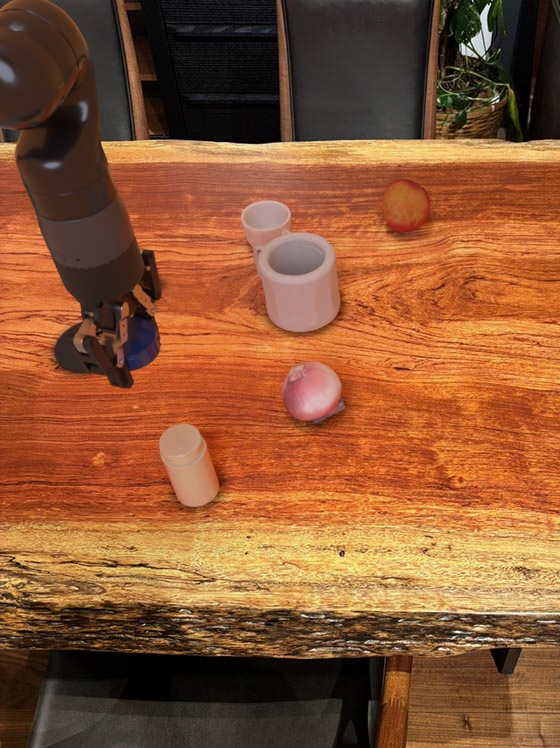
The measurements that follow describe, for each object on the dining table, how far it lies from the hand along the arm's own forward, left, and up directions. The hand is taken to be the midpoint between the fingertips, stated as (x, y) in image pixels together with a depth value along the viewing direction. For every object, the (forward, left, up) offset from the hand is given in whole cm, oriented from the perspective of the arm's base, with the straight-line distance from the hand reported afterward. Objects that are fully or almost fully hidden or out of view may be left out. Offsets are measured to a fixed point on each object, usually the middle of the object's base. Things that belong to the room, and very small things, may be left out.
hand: (137, 362), depth 85 cm
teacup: (+12, +41, -19) cm, 47 cm away
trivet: (-14, +22, -19) cm, 32 cm away
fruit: (+33, +43, -19) cm, 58 cm away
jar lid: (0, 0, +4) cm, 4 cm away
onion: (+17, +7, -19) cm, 27 cm away
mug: (+15, +27, -19) cm, 37 cm away
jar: (+3, -4, -19) cm, 19 cm away
